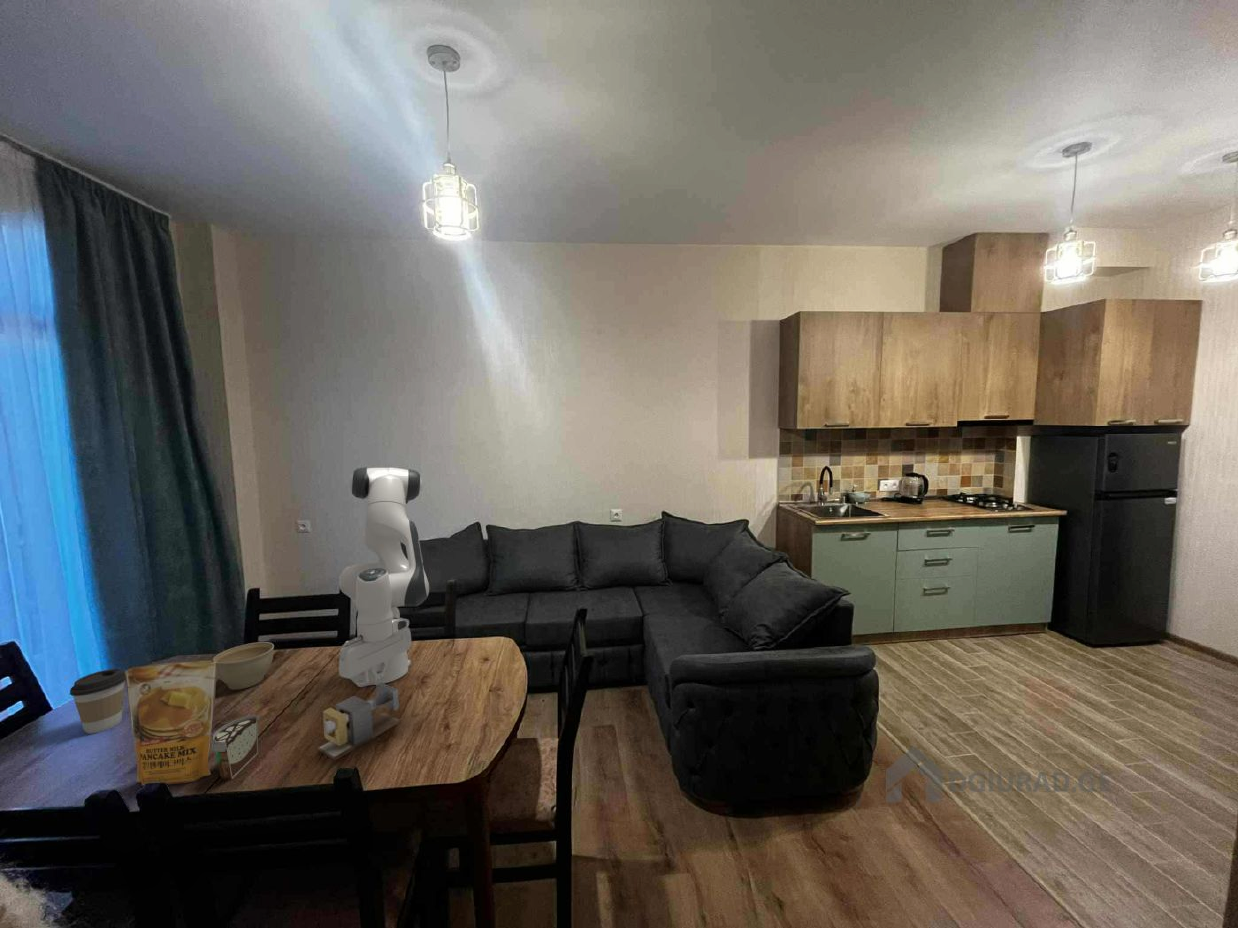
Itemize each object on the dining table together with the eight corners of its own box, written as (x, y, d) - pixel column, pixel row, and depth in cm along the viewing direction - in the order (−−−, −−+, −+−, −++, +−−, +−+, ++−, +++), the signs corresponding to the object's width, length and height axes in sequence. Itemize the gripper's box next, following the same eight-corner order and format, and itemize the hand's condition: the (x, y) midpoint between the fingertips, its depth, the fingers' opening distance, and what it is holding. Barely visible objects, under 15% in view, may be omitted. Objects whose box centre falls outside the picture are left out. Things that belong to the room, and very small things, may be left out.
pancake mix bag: (147, 770, 119) (136, 661, 117) (228, 762, 121) (219, 655, 119) (121, 790, 112) (109, 675, 111) (208, 781, 114) (198, 668, 112)
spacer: (324, 737, 125) (322, 711, 125) (332, 733, 127) (330, 707, 127) (339, 746, 122) (337, 719, 121) (347, 741, 123) (345, 714, 123)
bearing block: (338, 739, 129) (335, 704, 128) (356, 729, 133) (353, 695, 132) (354, 748, 125) (352, 712, 124) (373, 738, 129) (370, 703, 128)
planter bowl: (275, 684, 159) (272, 653, 159) (212, 701, 150) (209, 668, 150) (277, 666, 173) (274, 637, 172) (219, 680, 164) (216, 649, 163)
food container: (237, 751, 125) (233, 715, 125) (261, 749, 126) (258, 713, 125) (199, 785, 113) (196, 745, 112) (227, 783, 113) (223, 743, 113)
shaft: (319, 733, 125) (317, 713, 124) (382, 700, 140) (380, 682, 139) (336, 743, 121) (334, 722, 120) (398, 708, 136) (397, 689, 135)
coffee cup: (140, 718, 142) (135, 669, 141) (87, 741, 132) (82, 689, 131) (117, 712, 146) (112, 664, 145) (64, 734, 135) (59, 683, 134)
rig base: (318, 750, 125) (318, 747, 124) (383, 714, 140) (382, 711, 140) (335, 760, 120) (335, 756, 120) (399, 722, 136) (399, 719, 136)
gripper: (348, 646, 119) (351, 700, 120) (413, 618, 138) (416, 664, 138) (331, 642, 122) (334, 695, 122) (398, 615, 140) (400, 661, 141)
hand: (378, 679), depth 130 cm, fingers closed
